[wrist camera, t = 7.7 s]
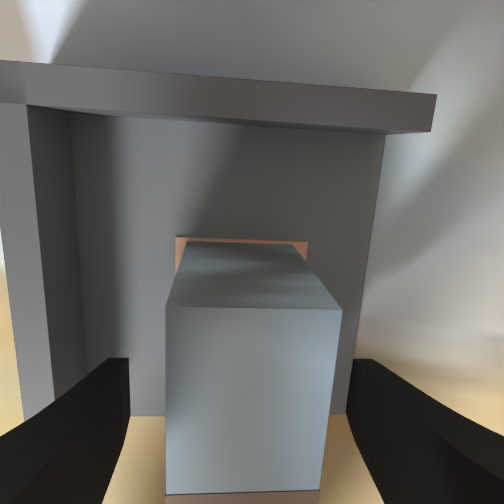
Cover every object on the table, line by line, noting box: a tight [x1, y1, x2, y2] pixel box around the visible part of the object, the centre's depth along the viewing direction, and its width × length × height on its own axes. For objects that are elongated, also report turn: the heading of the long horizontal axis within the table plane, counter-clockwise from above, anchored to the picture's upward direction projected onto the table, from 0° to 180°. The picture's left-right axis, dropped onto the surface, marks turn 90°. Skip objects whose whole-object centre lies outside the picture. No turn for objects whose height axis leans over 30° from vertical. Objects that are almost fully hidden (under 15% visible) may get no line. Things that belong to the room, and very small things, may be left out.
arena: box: [0, 60, 437, 422], centre depth 13 cm, size 13×12×3 cm
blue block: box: [165, 241, 342, 504], centre depth 12 cm, size 4×7×6 cm, turn 177°
